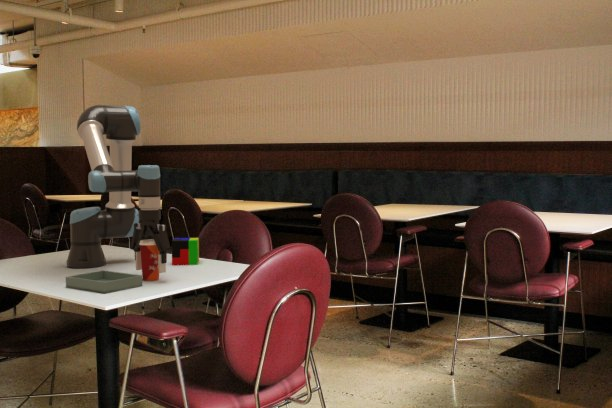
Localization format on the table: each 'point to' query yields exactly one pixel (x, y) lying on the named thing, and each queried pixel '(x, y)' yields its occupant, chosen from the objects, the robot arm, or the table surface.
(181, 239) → the puzzle toy
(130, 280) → the tray
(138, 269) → the robot arm
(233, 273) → the table surface
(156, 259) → the paper cup
